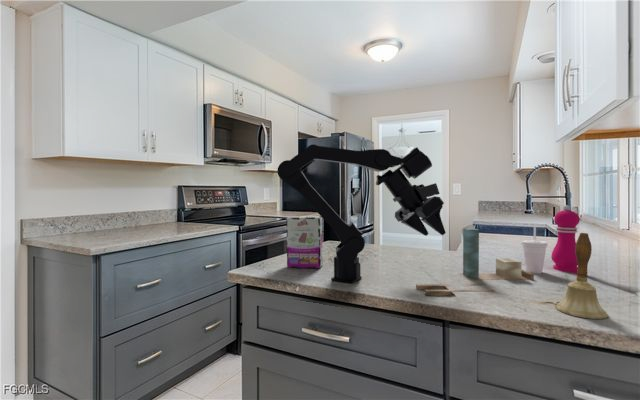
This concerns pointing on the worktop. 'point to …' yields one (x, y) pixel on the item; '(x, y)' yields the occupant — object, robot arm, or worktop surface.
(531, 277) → the wooden base with blocks
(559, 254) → the pepper mill
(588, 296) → the hand bell
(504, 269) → the maple block
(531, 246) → the smoothie
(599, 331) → the worktop surface
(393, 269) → the worktop surface
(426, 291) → the broken lane
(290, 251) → the candy bar box
